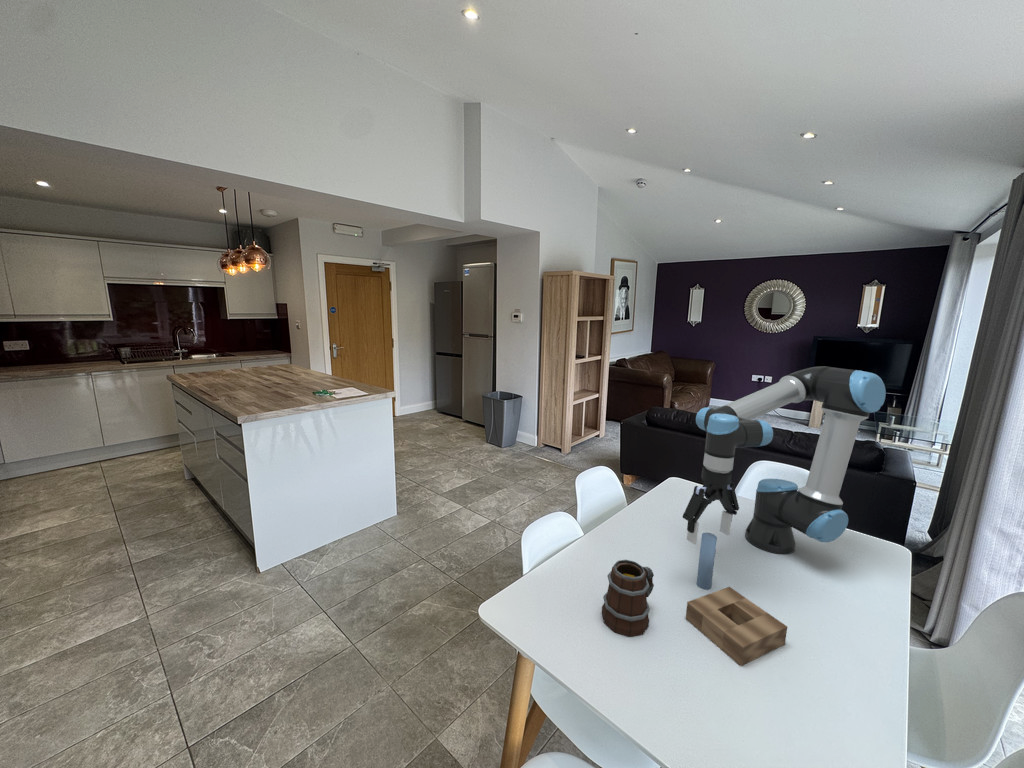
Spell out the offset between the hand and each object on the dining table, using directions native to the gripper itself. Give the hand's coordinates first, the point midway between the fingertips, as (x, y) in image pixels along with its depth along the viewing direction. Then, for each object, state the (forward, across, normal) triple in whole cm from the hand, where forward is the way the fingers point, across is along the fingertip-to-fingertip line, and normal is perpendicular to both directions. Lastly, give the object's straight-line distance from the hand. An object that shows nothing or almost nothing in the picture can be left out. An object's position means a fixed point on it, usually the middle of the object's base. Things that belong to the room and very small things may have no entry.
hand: (708, 537), depth 119 cm
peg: (+16, 0, 0) cm, 16 cm away
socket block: (+16, +8, +16) cm, 24 cm away
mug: (+16, +28, +2) cm, 33 cm away
